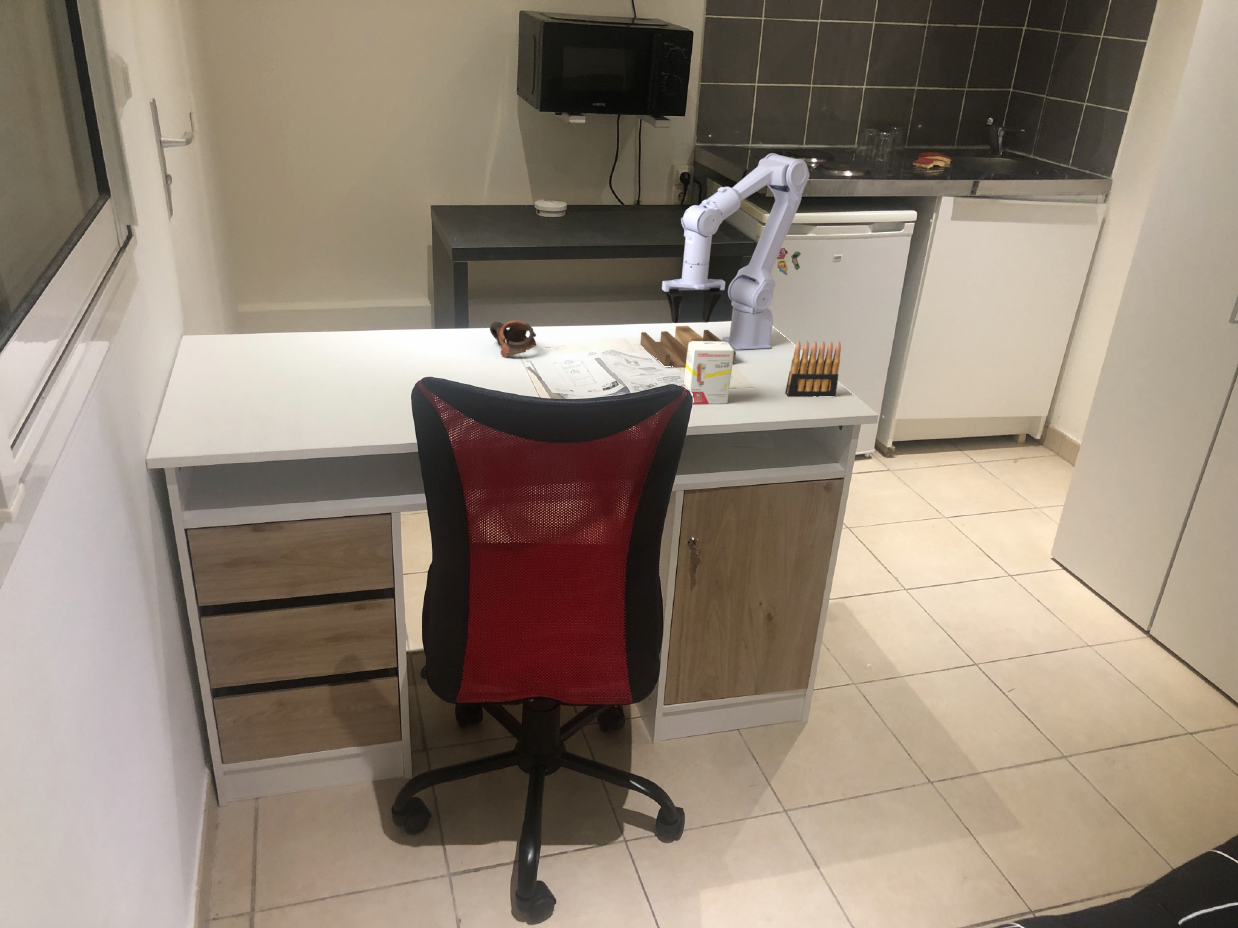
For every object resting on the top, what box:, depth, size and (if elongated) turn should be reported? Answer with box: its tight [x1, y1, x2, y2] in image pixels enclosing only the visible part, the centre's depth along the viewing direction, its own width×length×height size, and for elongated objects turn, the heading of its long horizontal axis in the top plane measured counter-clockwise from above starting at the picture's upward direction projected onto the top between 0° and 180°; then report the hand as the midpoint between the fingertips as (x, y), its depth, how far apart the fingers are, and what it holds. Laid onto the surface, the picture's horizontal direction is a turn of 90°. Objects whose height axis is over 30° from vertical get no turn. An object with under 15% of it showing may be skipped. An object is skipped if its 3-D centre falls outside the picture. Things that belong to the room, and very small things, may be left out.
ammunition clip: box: [784, 340, 842, 398], centre depth 199 cm, size 11×2×12 cm, turn 99°
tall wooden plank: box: [674, 325, 703, 349], centre depth 218 cm, size 3×9×5 cm, turn 19°
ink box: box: [683, 341, 735, 405], centre depth 192 cm, size 9×5×12 cm, turn 101°
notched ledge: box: [640, 329, 737, 368], centre depth 219 cm, size 17×16×3 cm
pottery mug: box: [489, 319, 537, 359], centre depth 212 cm, size 12×10×8 cm
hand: (690, 321), depth 216 cm, fingers open, 7 cm apart
